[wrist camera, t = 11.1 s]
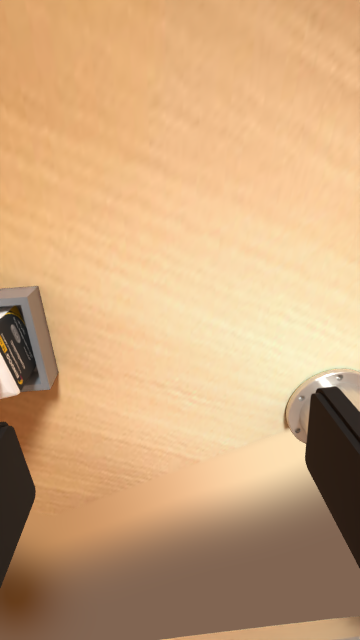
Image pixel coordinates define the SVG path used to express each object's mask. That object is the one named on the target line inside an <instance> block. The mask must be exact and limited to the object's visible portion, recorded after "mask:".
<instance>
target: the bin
mask: <svg viewBox="0 0 360 640" xmlns="http://www.w3.org/2000/svg"><path fill="white" fill-rule="evenodd" d="M14 305H15V306H17V307H18V309H19V312H20V314H21V316H22V318H23V320H24V322H25V325H26V327H27V331H28V335H29V338H30V342H31V346H32V350H33V354H34V358H35V361H36V365H37V366H36V367H35V369H34V371H33V372H32V374H31V376H30V377H29V379H28V380H27V382H26V384H25V385H24V387H23V389H22V390H21V392H26V391H38V390H50V389H51V387H52V385H53V383H54V381H55V379H56V376H57V374H58V369H57V364H56V360H55V356H54V352H53V347H52V343H51V339H50V334H49V330H48V326H47V322H46V317H45V313H44V309H43V304H42V300H41V296H40V292H39V287H38V286H33V287H19V288H4V289H0V308H4V307H8V306H14Z"/></svg>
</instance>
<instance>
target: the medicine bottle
mask: <svg viewBox="0 0 360 640" xmlns="http://www.w3.org/2000/svg"><path fill="white" fill-rule="evenodd" d="M36 366H37V365H36V361H35V358H34V354H33V350H32V346H31V342H30V338H29V335H28V331H27V327H26V325H25V322H24V320H23V318H22V316H21V314H20V312H19V309H18V307H17V306H15V305H14V306H8V307H4V308H0V399H3V398H7V397H11V396H16V395H18V394H19V393H20V392H21V390H22V389H23V387H24V385H25V384H26V382H27V380H28V379H29V377H30V376H31V374H32V372H33V371H34V369H35V367H36Z"/></svg>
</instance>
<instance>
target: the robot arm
mask: <svg viewBox="0 0 360 640" xmlns="http://www.w3.org/2000/svg"><path fill="white" fill-rule="evenodd" d="M286 420H287V424H288V426H289V428H290V430H291V432H292V433H293V434H294V435H295V437H296V438H297V439H299V440H300V441H302V442H304V443H306V455H305V460H306V465H307V468H308V470H309V472H310V474H311V476H312V477H313V480H314V482H315V483H316V485H317V487H318V489H319V491H320V493H321V495H322V497H323V499H324V501H325V502H326V505H327V507H328V508H329V510H330V512H331V514H332V516H333V518H334V520H335V522H336V524H337V526H338V528H339V529H340V531H341V533H342V535H343V537H344V539H345V541H346V543H347V545H348V547H349V549H350V550H351V552H352V554H353V556H354V558H355V560H356V562H357V564H358V566H359V568H360V372H358V371H355V370H351V369H332V370H327V371H324V372H321V373H319V374H316V375H314V376H313V377H311V378H309V379H308V380H306V381H305V382H304V383H302V384H301V385H300V386H299V387H298V388H297V389H296V390H295V392H294V393H293V395H292V396H291V398H290V400H289V402H288V404H287V409H286ZM34 499H35V486H34V483H33V480H32V478H31V475H30V472H29V469H28V466H27V464H26V461H25V458H24V455H23V452H22V450H21V447H20V444H19V441H18V438H17V436H16V433H15V430H14V428H13V427H12V426H8V424H7V423H6V422H0V587H1V585H2V582H3V580H4V577H5V574H6V572H7V569H8V567H9V564H10V562H11V559H12V557H13V554H14V551H15V549H16V546H17V543H18V541H19V538H20V536H21V533H22V531H23V528H24V525H25V523H26V520H27V518H28V515H29V512H30V510H31V507H32V505H33V502H34ZM162 640H360V616H357V617H346V618H336V619H327V620H319V621H310V622H302V623H294V624H285V625H276V626H268V627H260V628H252V629H243V630H235V631H226V632H218V633H210V634H203V635H194V636H186V637H178V638H170V639H162Z"/></svg>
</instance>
